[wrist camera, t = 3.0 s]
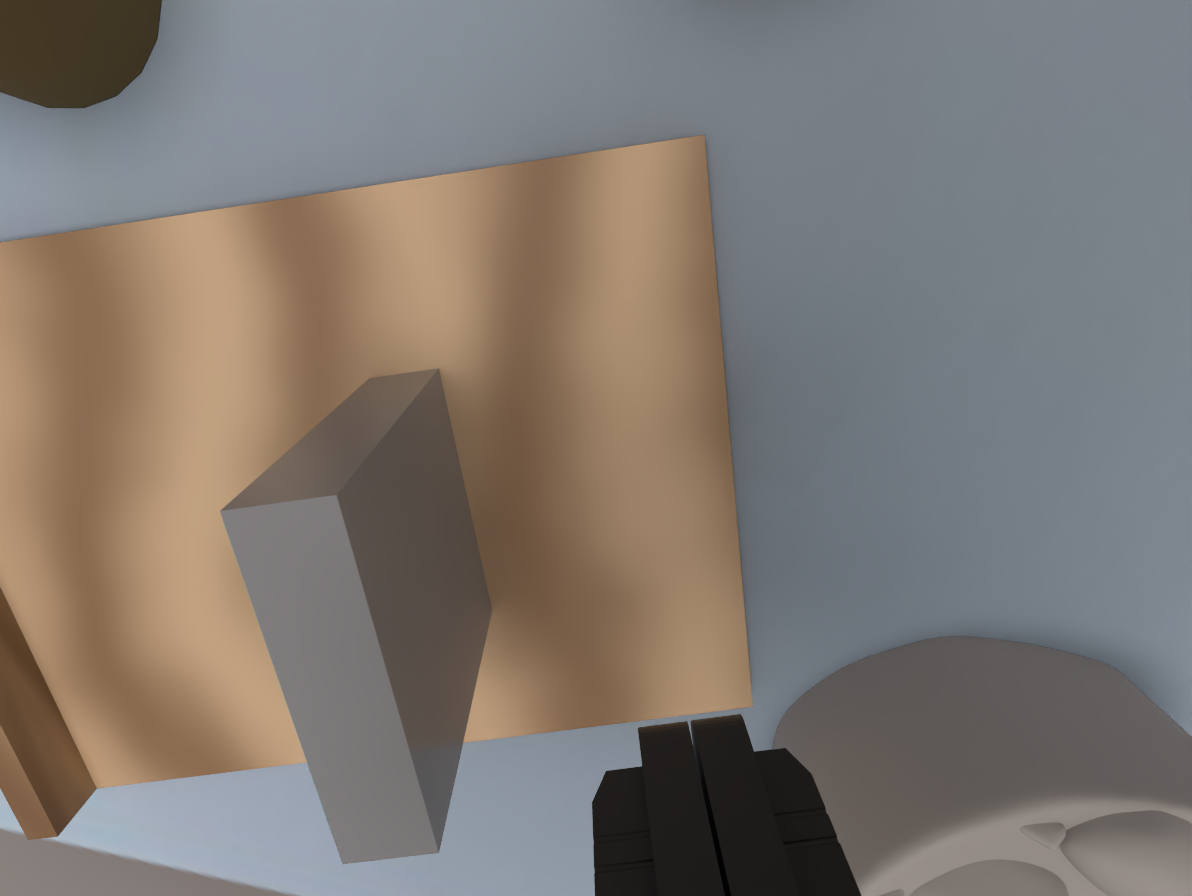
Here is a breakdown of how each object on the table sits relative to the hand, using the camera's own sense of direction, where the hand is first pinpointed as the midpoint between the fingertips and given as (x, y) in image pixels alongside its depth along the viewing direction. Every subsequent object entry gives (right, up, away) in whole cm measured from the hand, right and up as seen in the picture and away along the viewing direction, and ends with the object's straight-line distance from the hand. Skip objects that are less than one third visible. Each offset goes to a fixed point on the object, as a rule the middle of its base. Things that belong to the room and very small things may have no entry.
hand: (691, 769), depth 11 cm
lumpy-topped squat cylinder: (+11, -7, +17) cm, 21 cm away
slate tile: (-6, +3, +11) cm, 13 cm away
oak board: (-9, +3, +12) cm, 16 cm away
